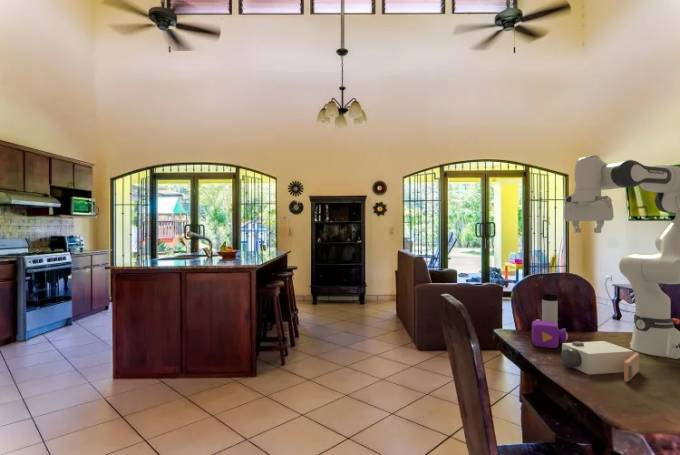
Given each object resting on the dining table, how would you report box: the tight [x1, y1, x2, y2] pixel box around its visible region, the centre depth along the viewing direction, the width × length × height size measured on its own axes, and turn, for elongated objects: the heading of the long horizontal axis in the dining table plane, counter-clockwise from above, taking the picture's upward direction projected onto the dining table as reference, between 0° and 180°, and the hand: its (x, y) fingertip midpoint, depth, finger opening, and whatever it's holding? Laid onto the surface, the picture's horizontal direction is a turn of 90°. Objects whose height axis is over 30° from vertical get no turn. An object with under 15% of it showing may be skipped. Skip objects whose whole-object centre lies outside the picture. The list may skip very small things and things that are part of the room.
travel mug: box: [541, 292, 559, 326], centre depth 176 cm, size 6×7×20 cm
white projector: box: [560, 340, 635, 375], centre depth 137 cm, size 21×12×8 cm, turn 100°
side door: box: [623, 351, 640, 382], centre depth 128 cm, size 16×2×6 cm, turn 130°
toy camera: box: [531, 319, 569, 349], centre depth 162 cm, size 11×14×10 cm
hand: (587, 232), depth 149 cm, fingers open, 8 cm apart
